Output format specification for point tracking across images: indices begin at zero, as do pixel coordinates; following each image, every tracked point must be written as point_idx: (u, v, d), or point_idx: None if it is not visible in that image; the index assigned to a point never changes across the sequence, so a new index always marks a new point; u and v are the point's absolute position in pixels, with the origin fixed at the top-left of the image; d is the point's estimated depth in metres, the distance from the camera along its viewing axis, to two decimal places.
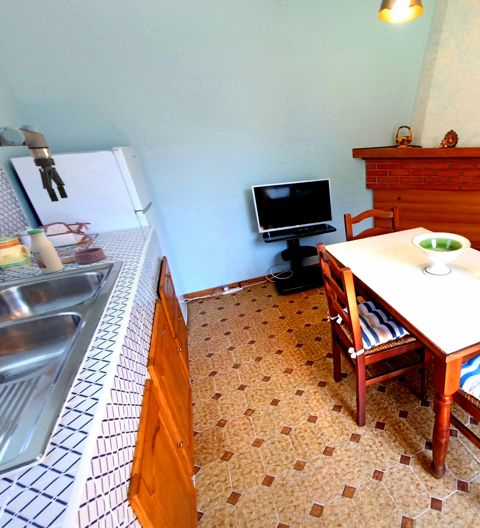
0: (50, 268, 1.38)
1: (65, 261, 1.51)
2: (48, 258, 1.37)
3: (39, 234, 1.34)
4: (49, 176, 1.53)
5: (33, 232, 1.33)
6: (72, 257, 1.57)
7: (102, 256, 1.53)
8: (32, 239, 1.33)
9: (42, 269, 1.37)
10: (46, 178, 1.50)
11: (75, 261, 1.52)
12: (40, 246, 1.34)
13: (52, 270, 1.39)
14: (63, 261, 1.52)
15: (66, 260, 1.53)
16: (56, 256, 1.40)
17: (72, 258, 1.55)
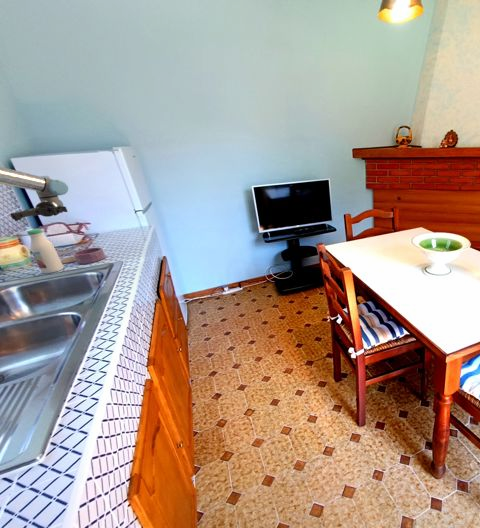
0: (50, 268, 1.38)
1: (65, 261, 1.51)
2: (48, 257, 1.37)
3: (39, 234, 1.34)
4: None
5: (33, 232, 1.33)
6: (72, 257, 1.57)
7: (102, 256, 1.53)
8: (32, 239, 1.33)
9: (42, 269, 1.37)
10: None
11: (75, 261, 1.52)
12: (40, 246, 1.34)
13: (52, 270, 1.39)
14: (63, 261, 1.52)
15: (66, 260, 1.53)
16: (56, 256, 1.40)
17: (72, 258, 1.55)
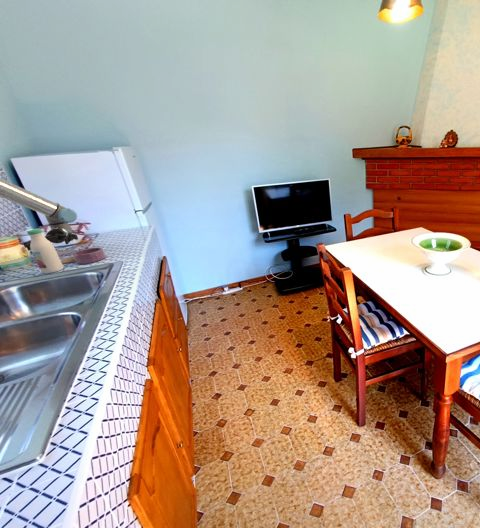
0: (50, 268, 1.38)
1: (65, 261, 1.51)
2: (48, 257, 1.37)
3: (39, 234, 1.34)
4: None
5: (33, 232, 1.33)
6: (72, 257, 1.57)
7: (102, 256, 1.53)
8: (32, 239, 1.33)
9: (42, 269, 1.37)
10: None
11: (75, 261, 1.52)
12: (40, 246, 1.34)
13: (52, 270, 1.39)
14: (63, 261, 1.52)
15: (66, 260, 1.53)
16: (56, 256, 1.40)
17: (72, 258, 1.55)
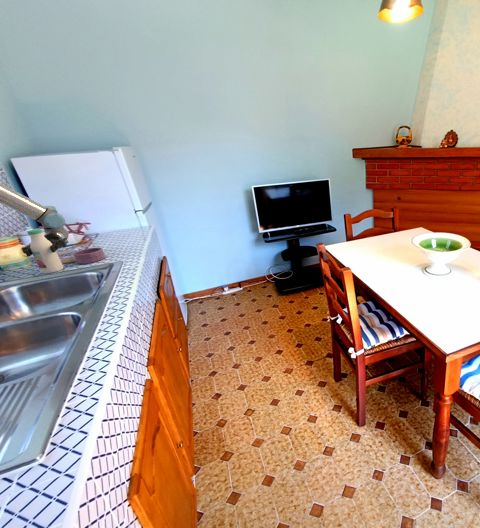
0: (50, 268, 1.38)
1: (65, 261, 1.51)
2: (48, 258, 1.37)
3: (39, 234, 1.34)
4: None
5: (33, 232, 1.33)
6: (72, 257, 1.57)
7: (102, 256, 1.53)
8: (32, 239, 1.33)
9: (42, 269, 1.37)
10: (66, 243, 1.46)
11: (75, 261, 1.52)
12: (40, 246, 1.34)
13: (52, 270, 1.39)
14: (63, 261, 1.52)
15: (66, 260, 1.53)
16: (56, 256, 1.40)
17: (72, 258, 1.55)
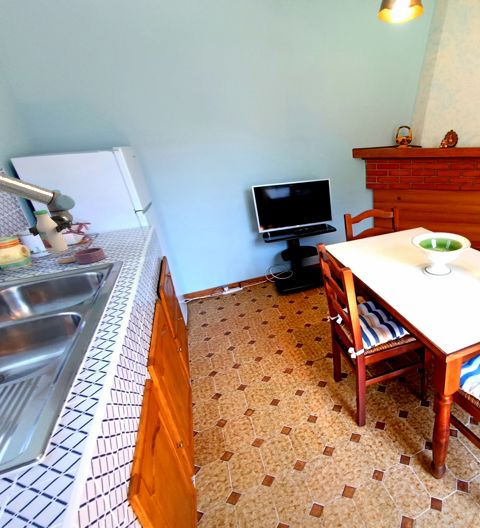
0: (55, 248, 1.43)
1: (65, 261, 1.51)
2: (54, 238, 1.41)
3: (45, 215, 1.39)
4: None
5: (39, 212, 1.37)
6: (72, 257, 1.57)
7: (102, 256, 1.53)
8: (38, 219, 1.38)
9: (48, 249, 1.42)
10: (71, 225, 1.51)
11: (75, 261, 1.52)
12: (46, 226, 1.39)
13: (57, 250, 1.43)
14: (63, 261, 1.52)
15: (66, 260, 1.53)
16: (61, 237, 1.44)
17: (72, 258, 1.55)
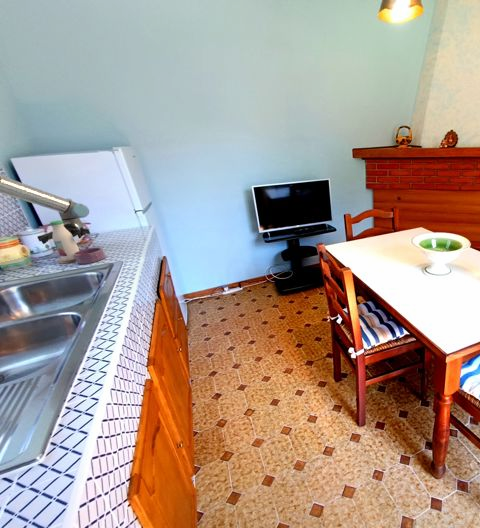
0: (69, 256, 1.51)
1: (65, 261, 1.51)
2: (68, 246, 1.50)
3: (60, 225, 1.48)
4: None
5: (55, 223, 1.46)
6: None
7: (102, 256, 1.53)
8: (54, 229, 1.47)
9: (63, 257, 1.50)
10: None
11: (75, 261, 1.52)
12: (61, 236, 1.48)
13: (72, 258, 1.52)
14: (63, 261, 1.52)
15: None
16: (75, 245, 1.53)
17: None
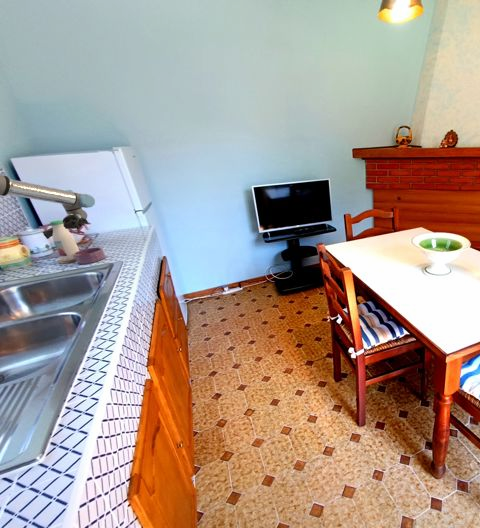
0: (69, 256, 1.51)
1: (65, 261, 1.51)
2: (68, 246, 1.50)
3: (60, 225, 1.48)
4: None
5: (55, 223, 1.46)
6: None
7: (102, 256, 1.53)
8: (54, 229, 1.47)
9: (63, 257, 1.50)
10: None
11: (75, 261, 1.52)
12: (61, 236, 1.48)
13: (72, 258, 1.52)
14: (63, 261, 1.52)
15: None
16: (75, 245, 1.53)
17: None
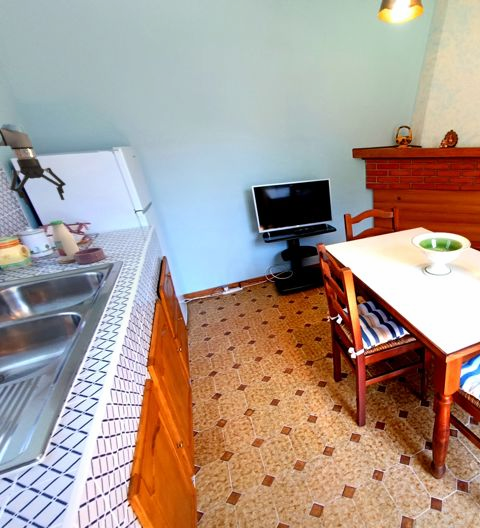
0: (69, 256, 1.51)
1: (65, 261, 1.51)
2: (68, 246, 1.50)
3: (60, 225, 1.48)
4: (23, 178, 1.46)
5: (55, 223, 1.46)
6: None
7: (102, 256, 1.53)
8: (54, 229, 1.47)
9: (63, 257, 1.50)
10: (12, 181, 1.43)
11: (75, 261, 1.52)
12: (61, 236, 1.48)
13: (72, 258, 1.52)
14: (63, 261, 1.52)
15: None
16: (75, 245, 1.53)
17: None
